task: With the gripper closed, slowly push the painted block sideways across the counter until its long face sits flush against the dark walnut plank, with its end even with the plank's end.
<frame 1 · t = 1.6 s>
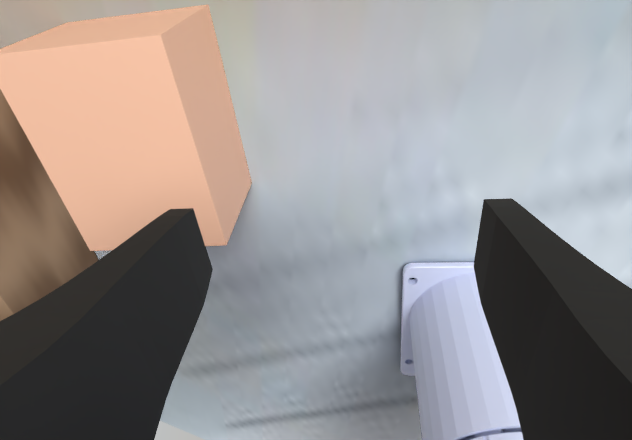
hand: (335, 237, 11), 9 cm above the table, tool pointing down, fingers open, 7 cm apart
plank: (73, 251, 25), on the table
block: (169, 109, 19), on the table
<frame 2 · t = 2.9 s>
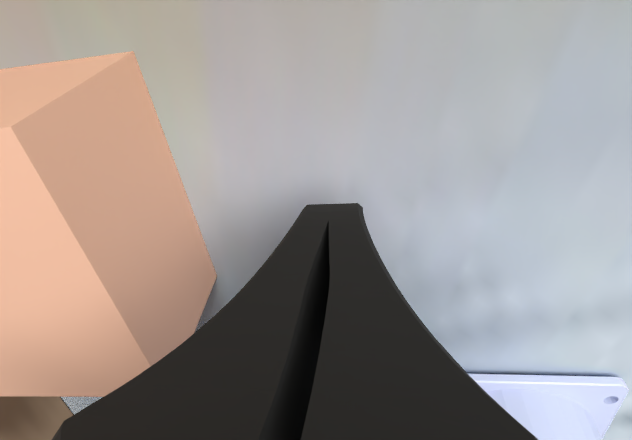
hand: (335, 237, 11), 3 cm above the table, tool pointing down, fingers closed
block: (98, 187, 14), on the table
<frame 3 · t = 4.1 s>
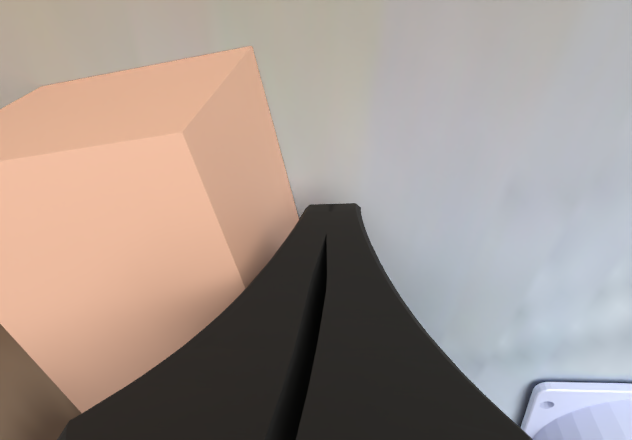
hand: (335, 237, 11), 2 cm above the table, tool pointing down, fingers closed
plank: (83, 353, 19), on the table
block: (196, 196, 13), on the table, touching gripper
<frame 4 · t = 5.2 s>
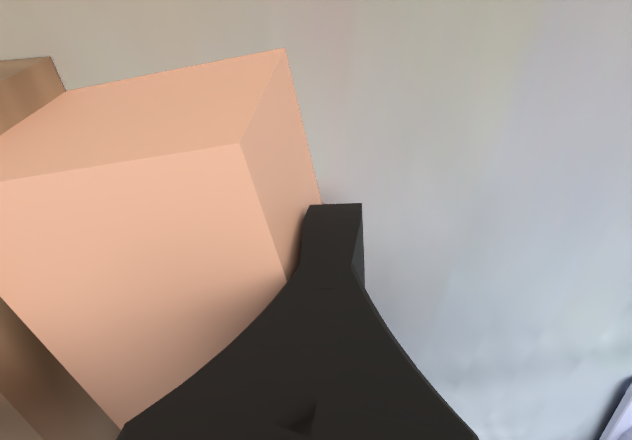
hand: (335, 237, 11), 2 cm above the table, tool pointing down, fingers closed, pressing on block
plank: (154, 353, 18), on the table
block: (222, 200, 13), on the table, touching gripper, plank
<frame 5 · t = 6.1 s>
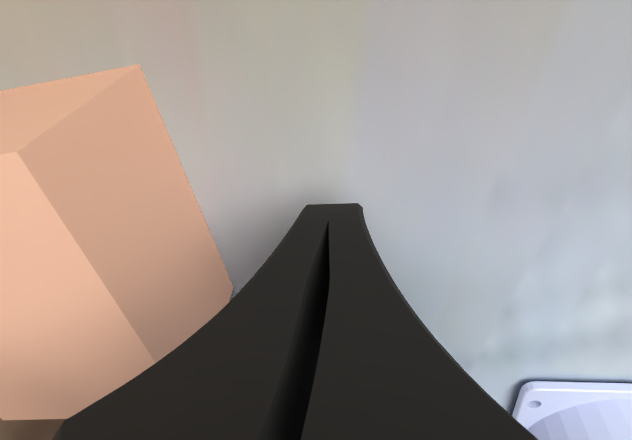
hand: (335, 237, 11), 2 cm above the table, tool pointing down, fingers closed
plank: (70, 351, 19), on the table
block: (110, 203, 14), on the table
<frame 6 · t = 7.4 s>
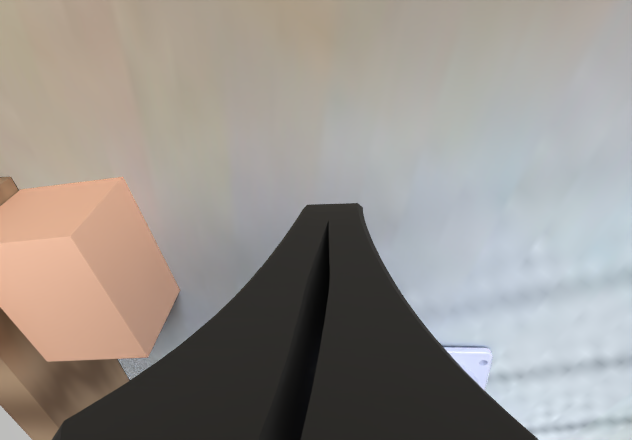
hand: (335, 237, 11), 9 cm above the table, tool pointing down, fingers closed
plank: (83, 330, 29), on the table
block: (107, 241, 25), on the table
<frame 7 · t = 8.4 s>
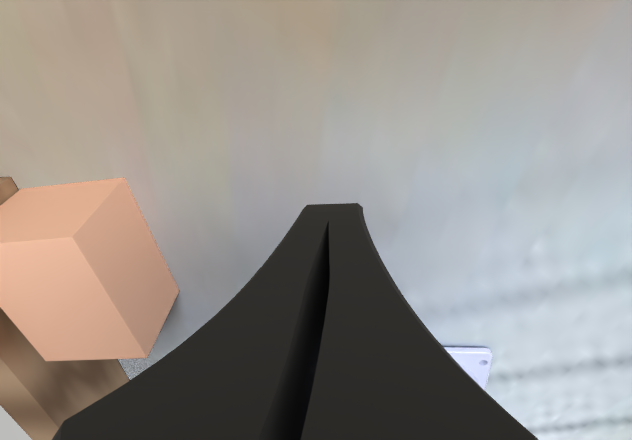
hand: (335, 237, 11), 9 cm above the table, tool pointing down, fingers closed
plank: (83, 330, 29), on the table
block: (107, 241, 25), on the table
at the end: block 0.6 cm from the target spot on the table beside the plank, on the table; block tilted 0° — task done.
